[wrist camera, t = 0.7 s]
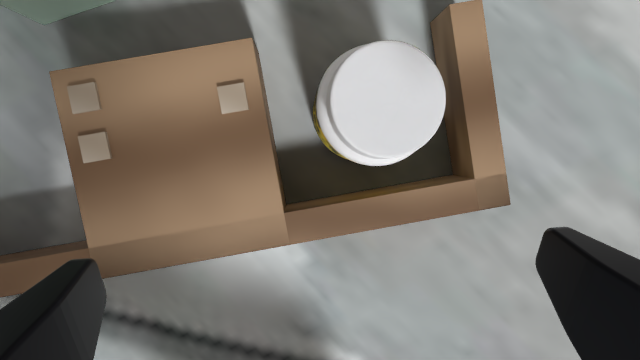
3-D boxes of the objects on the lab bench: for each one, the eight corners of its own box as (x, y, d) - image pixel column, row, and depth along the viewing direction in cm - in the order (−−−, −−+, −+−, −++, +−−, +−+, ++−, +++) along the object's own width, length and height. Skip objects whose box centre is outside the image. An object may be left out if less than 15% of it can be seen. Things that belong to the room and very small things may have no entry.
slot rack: (484, 197, 24) (512, 205, 21) (-81, 299, 23) (-142, 324, 20) (458, 18, 23) (483, -3, 20) (-128, 116, 22) (-200, 111, 19)
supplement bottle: (299, 85, 23) (298, 51, 15) (385, 56, 23) (433, 5, 15) (329, 173, 23) (345, 188, 15) (413, 144, 23) (476, 143, 15)
